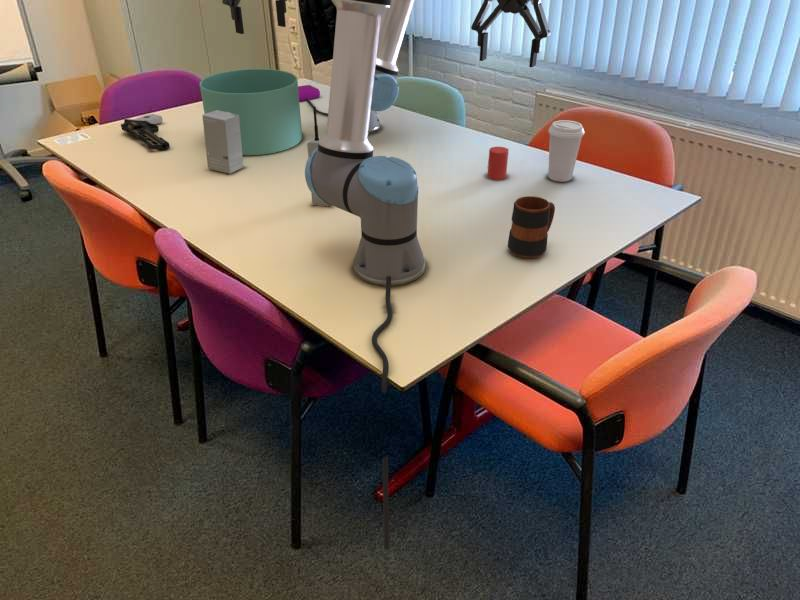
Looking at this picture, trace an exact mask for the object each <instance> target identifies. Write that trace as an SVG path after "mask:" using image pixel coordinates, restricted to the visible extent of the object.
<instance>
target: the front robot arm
mask: <svg viewBox="0 0 800 600" xmlns="http://www.w3.org/2000/svg"><path fill="white" fill-rule="evenodd" d="M330 1H331V2H332V4H333V5H334V6H335V8H336V17H335V29H334V30H335V32H334V41H333V54H332V66H331V75H330V76H331V78H330V89H329V98H328V99H329V101H328V111H327V112H328V116H327V123H326V133H325V134H324V136H322V137H320V138H321V139H320V140H319V143H318V148H316V149H315V150H314V151H313V152H312V153H311V157H309V158H307V160H306V163H305V167H304V178H305V183H306V186H307V188H308V190H309V191H310V193H312V194H313V195H314V196H315V197H317V198H318V199H320V200H322V201H323V202H325V203H326V204H328V205H331V206H332V207H335V208H338V209H339V210H342V211H345V212H347V213H349V214H352V215H354V216H356V217H359V218H360V239H359V242H358V247H357V249H356V252H355V256H354V259H353V270H354V273H355V275H356V276H357V277H358V278H359V279H360V280H362V281H364V282H366V283H369V284H370V285H371V284H372V285H376V286H382V287H385V306H386V310H387V317H386V319H385V320H384V321H383V322H382V323H381V324H380V325H379V326H378V327H377V328H376V329H375V331H374V332H373V333H372V336H371V343H372V346H373V348H374V350H375V351H376V353H377V354H378V355H379V356H380V359H381V360H382V373H381V385H380V389H381V390H380V391H381V393H382V394H386V393H387V392H388V378H389V369H390V366H389V359H388V357H387V355H386V353H385V351H384V350H383V348H382V347H381V346H380V345H379V343H378V337H379V335H380V334H381V333H382V332H383V331H384V330H385V329H386V328H388V326H389V325H390V324H391V322H392V319H393V317H394V316H393V315H394V312H393V311H394V310H393V307H392V302H391V301H392V300H391V294H392V293H391V291H392V287H395V286H402V285H406V284H410V283H413V282H415V281H417V280H418V279H420V278H421V276H423V274H424V273H425V270H426V261H425V255H424V252H423V250H422V247H421V244H420V241H419V238H418V207H419V184H418V174H417V171H416V169H415V168H414V166H413V165H411V164H410V163H409V162H408V161H405V160H403V159H401V158H399V157H395V156H386V155H374V146H373V145H372V143H371V142H370V141H369V138H368V137H369V134H368V129H369V120H370V111H371V103H372V94H373V85H374V76H375V67H376V58H377V49H378V40H379V31H380V22H381V16H382V14H383V13H384V12H385V11H387V10H388V9H389V8H390V5H391V0H330ZM493 1H494V0H483V2H482V4H481V6H480V8H479V10H478V12H477V14H476V16H475V18H474V20H473V22H472V24H471V26H470V29H471V30H472V31H475V32H477V47H480V48H479V62H483V61H486V60H487V57H488V55H487V54H488V40H489V32H487V29H488V28H490V26H491V25H492V24H493V23H494V21H496V20H497V18H498V17H499V16H500V15H501V14H502V12H503V13H504V14H508V13H511V14H513V15H514V14H515V15H516V14H519V16H521V17H522V19H523V21H524V22H525V23H526V25H527V27H528V29H529V30H530V32H531V34H532V35H533V37H534V38H533V39H531V45H530V55H529V66H528V67H529V68H534V67H535V66H537V58H538V54H540V53H541V52H542V46H543V40H544V39H546V38H548V37H550V36H551V34H552V33H551V29H550V26H549V23H548V19H547V17H546V13H545V9H544V8H543V7H544V6H543V4H542V0H496V1H497V3H498V4H497V5H496V6H495V8H494V9H493V11H492V12H491V13H490V14H489V16H488V17H487V18H486V19H485V20H484V18H485V17H486V15H487V13H488V10H489V9H490V7H491V5H492V2H493ZM528 3H531V5H532V6H533V10H534V14H535V16H536V19H537V21H536V19H535V18H534V17H533V15H532V13H531V11H530V9H529V7H528ZM483 21H484V22H483ZM381 464H382V465H381V466H382V467H381V468H382V470H381V471H382V504H383V505H382V509H383V512H382V513H383V548H384V550H389V549H390V514H389V512H390V511H389V510H390V509H389V455H388V454H387V455H386V456H384V457H383V458H382V459H381Z"/></svg>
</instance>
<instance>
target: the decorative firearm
mask: <svg viewBox="0 0 800 600" xmlns="http://www.w3.org/2000/svg"><path fill="white" fill-rule="evenodd" d="M163 120H164V119H163V117H162V116H161V115H159V114H154V113H150V114H146V115H145V114H144V115H142V116H139V117H136V118H123V123H120V127H121V130H122V131H124V132H126V133H128V134H129V135H131V136H133V137H135V138H137V139H138V140H140V141H141V142H142V143H143V144H145V145H146V147H147V148H149V149H152V150H169V149H170V148H171V147H170V142H169V141H167V140H165V139H164V138H163V137H160V136H158V135H156V134H157V133H158V132H159V125H158V124H163Z"/></svg>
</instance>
